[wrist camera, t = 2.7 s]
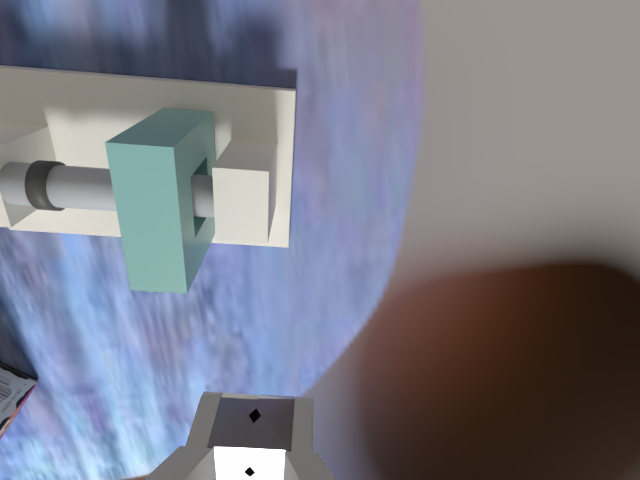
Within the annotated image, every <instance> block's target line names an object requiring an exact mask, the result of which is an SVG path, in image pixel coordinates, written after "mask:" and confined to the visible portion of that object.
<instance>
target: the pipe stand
mask: <svg viewBox="0 0 640 480" xmlns="http://www.w3.org/2000/svg"><path fill="white" fill-rule="evenodd" d="M295 105H296V89H292V88H280V87H267V86H255V85H242V84H230V83H217V82H205V81H192V80H180V79H167V78H155V77H143V76H130V75H118V74H105V73H93V72H80V71H68V70H55V69H43V68H30V67H18V66H6V65H0V227H9V229H10V230H22V231H38V232H53V233H69V234H85V235H100V236H116V237H121V233H120V227H119V221H118V215H117V210H116V204H115V198H114V192H113V187H112V181H111V175H110V169H109V164H108V158H107V152H106V146H105V142H106V141H108V140H110V139H111V138H113V137H115V136H116V135H118V134H120V133H121V132H123V131H125V130H127V129H128V128H130V127H132V126H133V125H135V124H137V123H138V122H140V121H142V120H143V119H145V118H147V117H148V116H150V115H152V114H154V113H155V112H157V111H159V110H160V109H162V108H164V107H166V108H179V109H192V110H205V111H213V119H214V141H215V164H214V165H213V167H212V176H206V175H192V176H191V177H190V179H191V192H192V205H193V216H195V217H210V218H215V235H214V237H213V239H212V241H211V243H226V244H242V245H257V246H273V247H288V246H289V232H290V211H291V190H292V169H293V148H294V126H295Z"/></svg>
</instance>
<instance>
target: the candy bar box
mask: <svg viewBox="0 0 640 480" xmlns="http://www.w3.org/2000/svg"><path fill="white" fill-rule="evenodd" d="M37 383H38V381H37V380H35V379H33V378H31V377H29V376H26V375H24V374H22V373H20V372H18V371H16V370H13V369H12V368H10V367H7V366H5V365H3V364H2V363H0V439H1V437H2V436H3V434H4V433H5V432H6V430H7V428H8V427H9V425H10V424H11V422H12V421H13V419H14V418H15V416H16V415H17V413H18V412H19V410H20V409H21V407H22V406H23V404H24V402H25V401H26V400H27V398H28V397H29V395H30V393H31V392H32V390H33V389H34V388H35V386H36V385H37Z"/></svg>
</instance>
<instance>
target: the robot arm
mask: <svg viewBox="0 0 640 480" xmlns="http://www.w3.org/2000/svg"><path fill="white" fill-rule="evenodd" d="M293 411H294V412H293ZM144 480H335V479H334V477H333V476H332V475H331V473H330V471H329V470H328V468H327V467H326V465H325V463H324V462H323V460H322V458H321V457H320V455H319V454H318V453H313V398H307V397H295V398H294V396H272V395H259V396H257V395H245V394H232V393H218V392H204V393H203V395H202V396H201V399H200V402H199V405H198V408H197V411H196V415H195V418H194V421H193V424H192V427H191V430H190V434H189V437H188V440H187V443H186V446H179V447H178V448H177V449H176V450H175V451H174V452H173V453H172V454H171V455H170V456H169V457H168V458H167V459H166V460H165V461H163V462H162V463H161V464H160V465H159V466H158V467H157V468H156V469H155V470H154V471H153V472H152V473H151V474H150V475H148V476H147V477H146V478H145V479H144Z"/></svg>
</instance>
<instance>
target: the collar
mask: <svg viewBox="0 0 640 480" xmlns="http://www.w3.org/2000/svg"><path fill="white" fill-rule="evenodd" d="M105 146H106V152H107V158H108V164H109V169H110V175H111V181H112V187H113V192H114V198H115V204H116V210H117V215H118V221H119V227H120V233H121V238H122V244H123V250H124V256H125V261H126V267H127V273H128V279H129V284H130V290H136V291H153V292H170V293H188V291H189V288H190V286H191V284H192V282H193V280H194V278H195V276H196V274H197V271H198V269H199V267H200V265H201V263H202V261H203V259H204V256H205V254H206V252H207V250H208V248H209V246H210V244H211V241H212V239H213V237H214V235H215V218H210V217H195V216H193V205H192V192H191V179H190V177H191V176H192V175H206V176H212V167H213V165H214V164H215V141H214V119H213V111H205V110H192V109H179V108H166V107H164V108H162V109H160V110H159V111H157V112H155V113H154V114H152V115H150V116H148V117H147V118H145V119H143V120H142V121H140V122H138V123H137V124H135V125H133V126H132V127H130V128H128V129H127V130H125V131H123V132H121V133H120V134H118V135H116V136H115V137H113V138H111V139H110V140H108V141H106V142H105Z"/></svg>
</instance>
